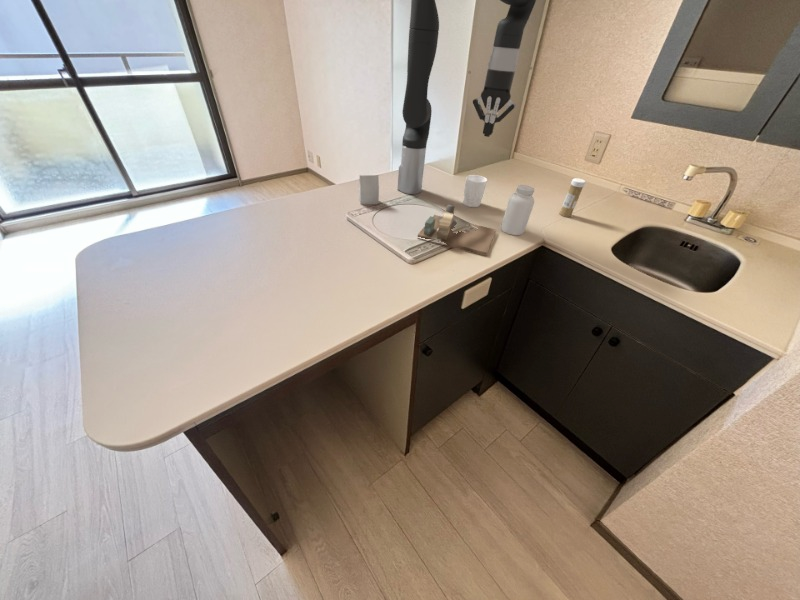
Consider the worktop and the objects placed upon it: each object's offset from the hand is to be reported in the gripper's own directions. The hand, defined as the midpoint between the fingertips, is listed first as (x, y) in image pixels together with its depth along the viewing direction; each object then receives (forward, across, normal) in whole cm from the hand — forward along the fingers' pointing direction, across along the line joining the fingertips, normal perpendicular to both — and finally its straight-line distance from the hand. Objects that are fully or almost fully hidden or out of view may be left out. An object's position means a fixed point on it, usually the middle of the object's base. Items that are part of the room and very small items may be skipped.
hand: (486, 136), depth 101 cm
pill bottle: (+27, -16, +3) cm, 32 cm away
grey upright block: (+27, +37, +8) cm, 47 cm away
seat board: (+27, 0, +16) cm, 32 cm away
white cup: (+27, +2, -12) cm, 30 cm away
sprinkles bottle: (+27, -33, -22) cm, 48 cm away
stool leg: (+25, +4, +18) cm, 31 cm away
